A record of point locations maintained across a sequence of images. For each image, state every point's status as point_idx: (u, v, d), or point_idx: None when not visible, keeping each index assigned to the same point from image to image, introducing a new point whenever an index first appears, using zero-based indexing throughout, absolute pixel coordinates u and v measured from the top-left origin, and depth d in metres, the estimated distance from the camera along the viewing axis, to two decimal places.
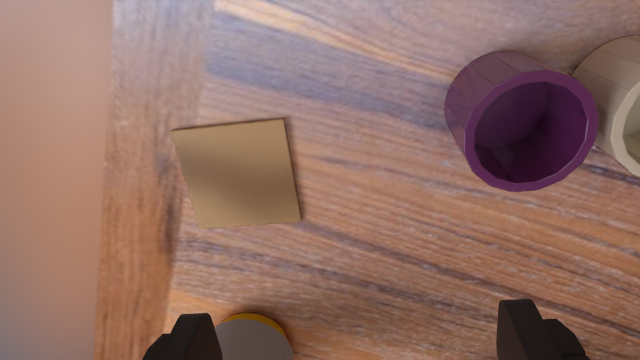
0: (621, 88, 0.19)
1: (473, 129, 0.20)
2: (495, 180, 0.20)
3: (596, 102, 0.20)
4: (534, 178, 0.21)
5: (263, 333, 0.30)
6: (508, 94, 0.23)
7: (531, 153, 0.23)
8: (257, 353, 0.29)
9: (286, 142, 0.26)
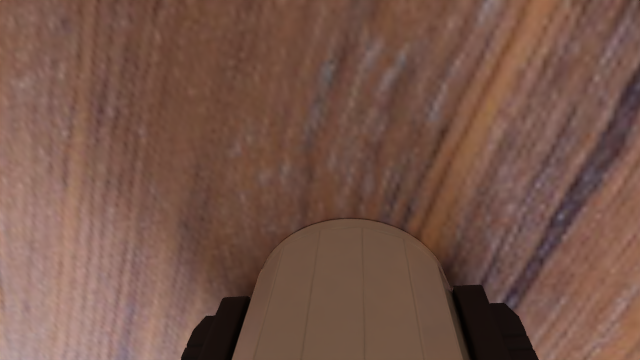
0: None
1: None
2: None
3: None
4: None
5: None
6: None
7: None
8: None
9: None
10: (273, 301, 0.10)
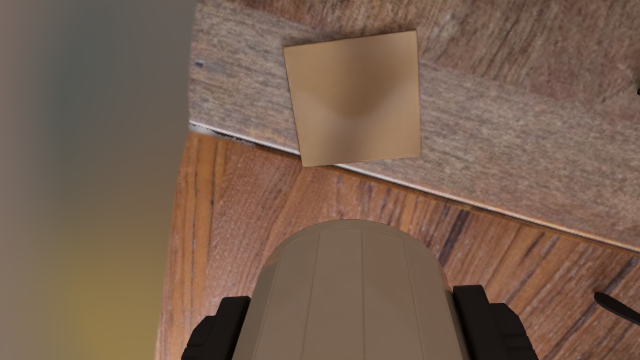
0: None
1: None
2: None
3: None
4: None
5: None
6: None
7: None
8: None
9: None
10: (273, 302, 0.10)
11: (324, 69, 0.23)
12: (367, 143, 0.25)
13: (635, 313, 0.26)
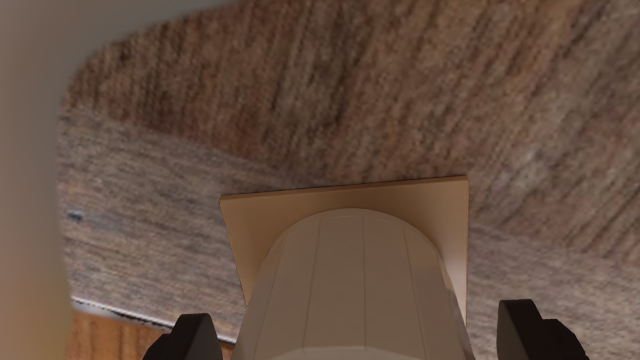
0: None
1: None
2: None
3: None
4: None
5: None
6: None
7: None
8: None
9: None
10: (276, 286, 0.10)
11: None
12: None
13: None
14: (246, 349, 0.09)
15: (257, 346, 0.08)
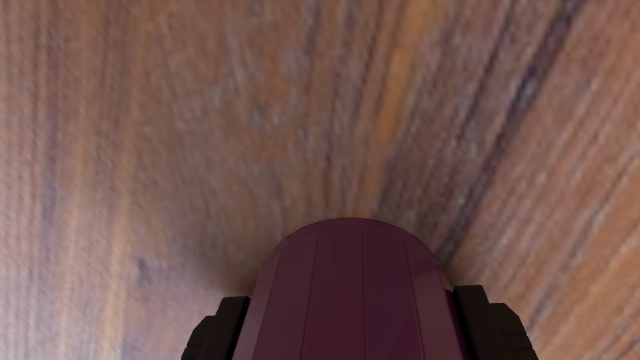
0: None
1: None
2: None
3: None
4: None
5: None
6: None
7: None
8: None
9: None
10: None
11: None
12: None
13: None
14: None
15: None
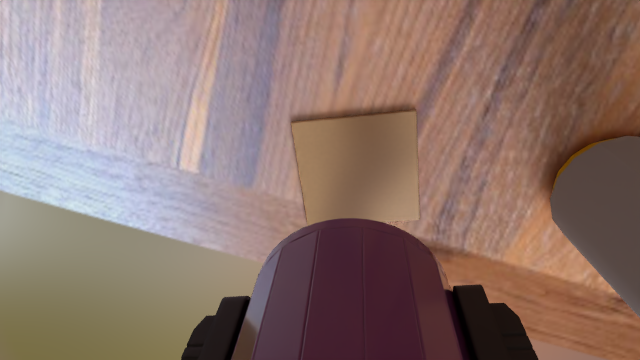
0: None
1: None
2: None
3: None
4: None
5: (573, 174, 0.22)
6: None
7: None
8: (591, 191, 0.21)
9: (315, 121, 0.24)
10: None
11: None
12: None
13: None
14: None
15: None
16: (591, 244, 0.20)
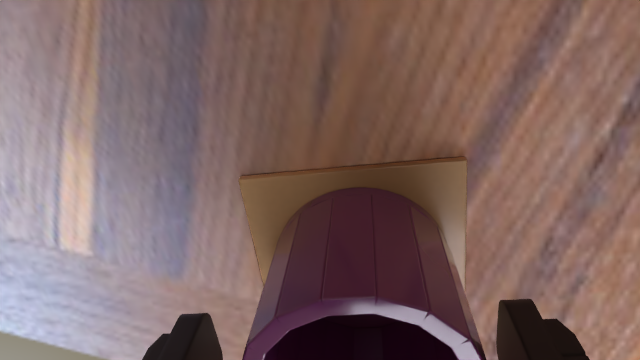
0: None
1: None
2: None
3: None
4: None
5: None
6: None
7: None
8: None
9: (282, 178, 0.13)
10: None
11: None
12: None
13: None
14: None
15: None
16: None
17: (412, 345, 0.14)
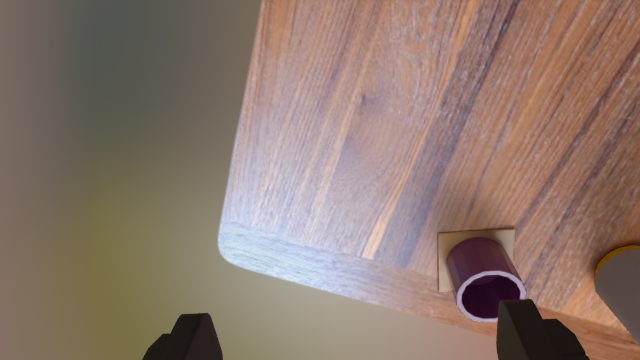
0: None
1: (483, 319, 0.38)
2: None
3: None
4: None
5: (610, 269, 0.38)
6: None
7: None
8: (621, 282, 0.37)
9: (453, 233, 0.40)
10: None
11: None
12: None
13: None
14: None
15: None
16: (622, 313, 0.36)
17: (496, 289, 0.41)
